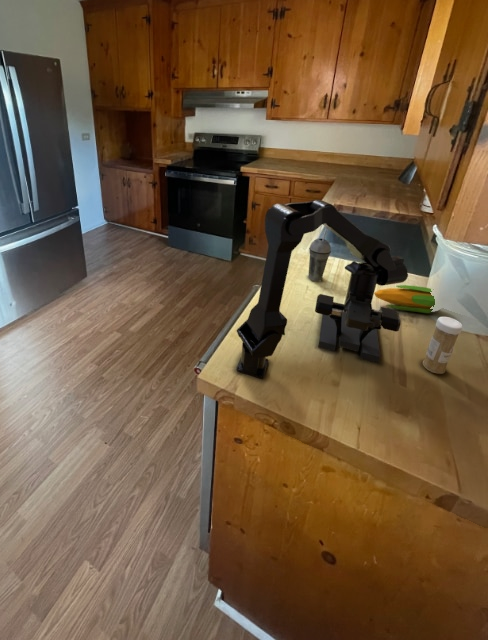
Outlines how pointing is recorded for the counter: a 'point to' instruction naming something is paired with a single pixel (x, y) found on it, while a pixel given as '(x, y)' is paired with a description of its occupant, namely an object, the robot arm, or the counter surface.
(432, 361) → the tan spice jar
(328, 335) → the dark u-shaped block
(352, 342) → the small pad
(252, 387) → the counter surface
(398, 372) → the counter surface
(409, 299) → the corn
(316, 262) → the beverage cup
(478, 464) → the counter surface
